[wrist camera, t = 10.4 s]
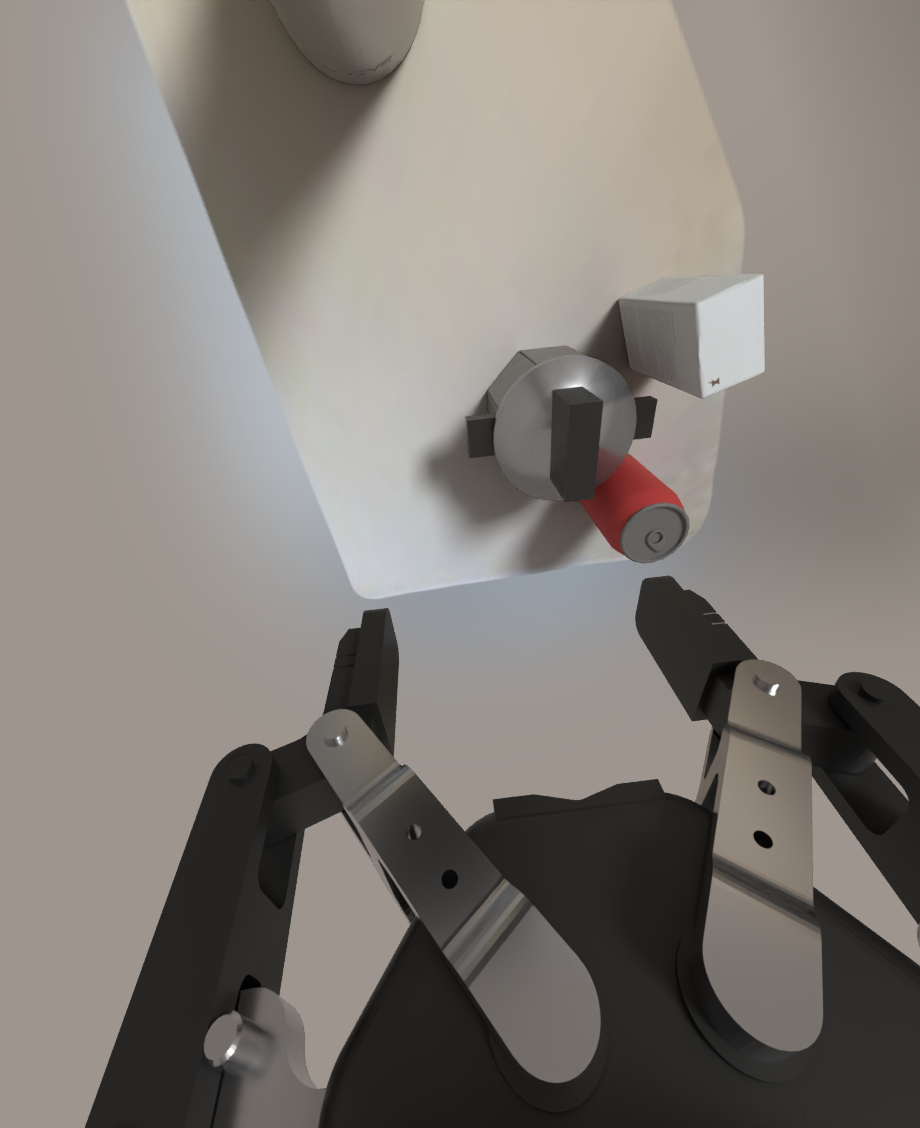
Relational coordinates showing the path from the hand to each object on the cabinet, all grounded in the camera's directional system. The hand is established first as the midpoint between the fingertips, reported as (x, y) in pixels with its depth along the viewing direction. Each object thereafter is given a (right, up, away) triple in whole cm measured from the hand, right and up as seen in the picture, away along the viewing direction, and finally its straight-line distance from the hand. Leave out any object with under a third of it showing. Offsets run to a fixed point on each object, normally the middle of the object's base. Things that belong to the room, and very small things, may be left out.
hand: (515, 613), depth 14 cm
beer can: (+13, +11, +31) cm, 35 cm away
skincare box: (+14, +22, +23) cm, 35 cm away
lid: (+6, +12, +20) cm, 25 cm away
